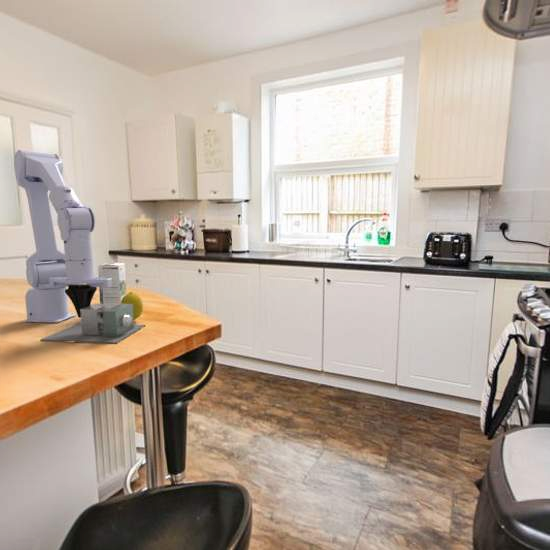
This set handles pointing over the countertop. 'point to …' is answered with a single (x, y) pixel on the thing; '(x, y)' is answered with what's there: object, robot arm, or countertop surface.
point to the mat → (76, 335)
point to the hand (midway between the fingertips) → (83, 316)
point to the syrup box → (118, 287)
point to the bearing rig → (117, 320)
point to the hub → (92, 319)
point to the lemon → (134, 300)
